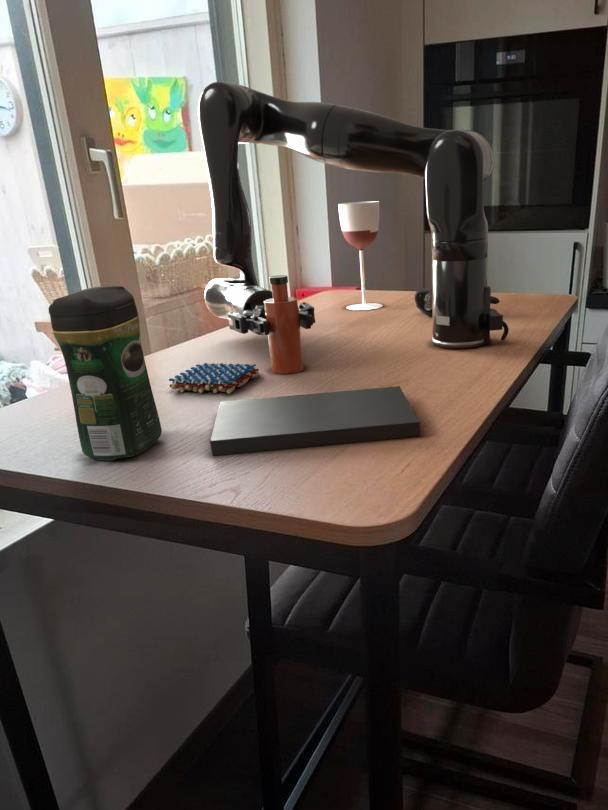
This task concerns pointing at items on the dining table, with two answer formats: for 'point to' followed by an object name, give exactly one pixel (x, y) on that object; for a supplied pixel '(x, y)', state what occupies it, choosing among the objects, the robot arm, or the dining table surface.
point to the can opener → (425, 301)
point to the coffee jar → (106, 371)
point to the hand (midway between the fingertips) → (287, 325)
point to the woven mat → (214, 377)
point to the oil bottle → (283, 328)
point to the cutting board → (313, 420)
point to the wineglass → (360, 236)
